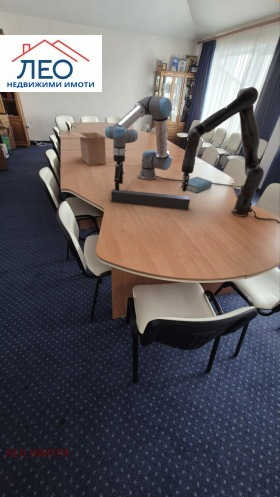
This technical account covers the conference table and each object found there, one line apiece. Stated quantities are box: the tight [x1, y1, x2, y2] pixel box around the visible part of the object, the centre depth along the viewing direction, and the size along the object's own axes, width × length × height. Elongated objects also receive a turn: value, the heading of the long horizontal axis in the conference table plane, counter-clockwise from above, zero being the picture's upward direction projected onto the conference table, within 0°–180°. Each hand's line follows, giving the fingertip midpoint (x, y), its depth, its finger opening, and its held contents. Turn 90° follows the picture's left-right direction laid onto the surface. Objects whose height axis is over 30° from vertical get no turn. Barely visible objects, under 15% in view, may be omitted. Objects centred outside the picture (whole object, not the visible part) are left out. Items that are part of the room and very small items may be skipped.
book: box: [180, 176, 213, 194], centre depth 191 cm, size 23×16×5 cm
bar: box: [110, 188, 191, 211], centre depth 157 cm, size 55×5×8 cm, turn 84°
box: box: [70, 129, 107, 166], centre depth 229 cm, size 44×36×27 cm
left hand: (118, 186), depth 154 cm, fingers open, 13 cm apart
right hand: (183, 188), depth 150 cm, fingers open, 8 cm apart
